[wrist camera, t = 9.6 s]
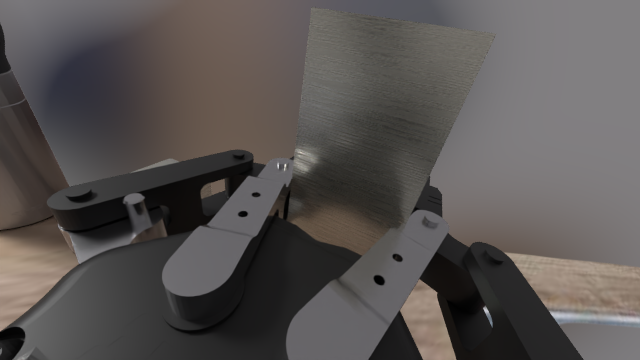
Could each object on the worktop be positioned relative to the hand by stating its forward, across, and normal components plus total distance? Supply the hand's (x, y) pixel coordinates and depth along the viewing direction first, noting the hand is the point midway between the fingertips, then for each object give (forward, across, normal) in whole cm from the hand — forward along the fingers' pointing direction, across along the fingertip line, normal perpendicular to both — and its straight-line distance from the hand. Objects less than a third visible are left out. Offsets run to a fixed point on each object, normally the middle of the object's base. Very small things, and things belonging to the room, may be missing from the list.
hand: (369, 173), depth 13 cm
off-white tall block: (-3, 0, +8) cm, 9 cm away
